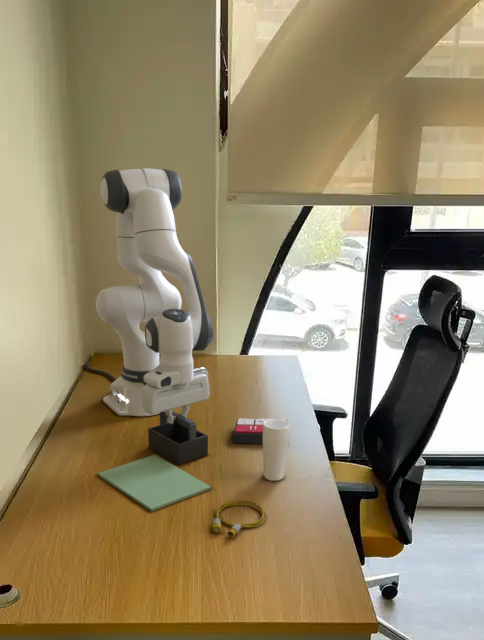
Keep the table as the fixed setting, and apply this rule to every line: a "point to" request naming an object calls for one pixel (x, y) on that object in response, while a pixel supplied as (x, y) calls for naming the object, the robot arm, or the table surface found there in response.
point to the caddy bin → (178, 439)
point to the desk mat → (154, 482)
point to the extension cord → (235, 527)
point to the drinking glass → (275, 448)
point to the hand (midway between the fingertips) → (177, 421)
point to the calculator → (249, 430)
